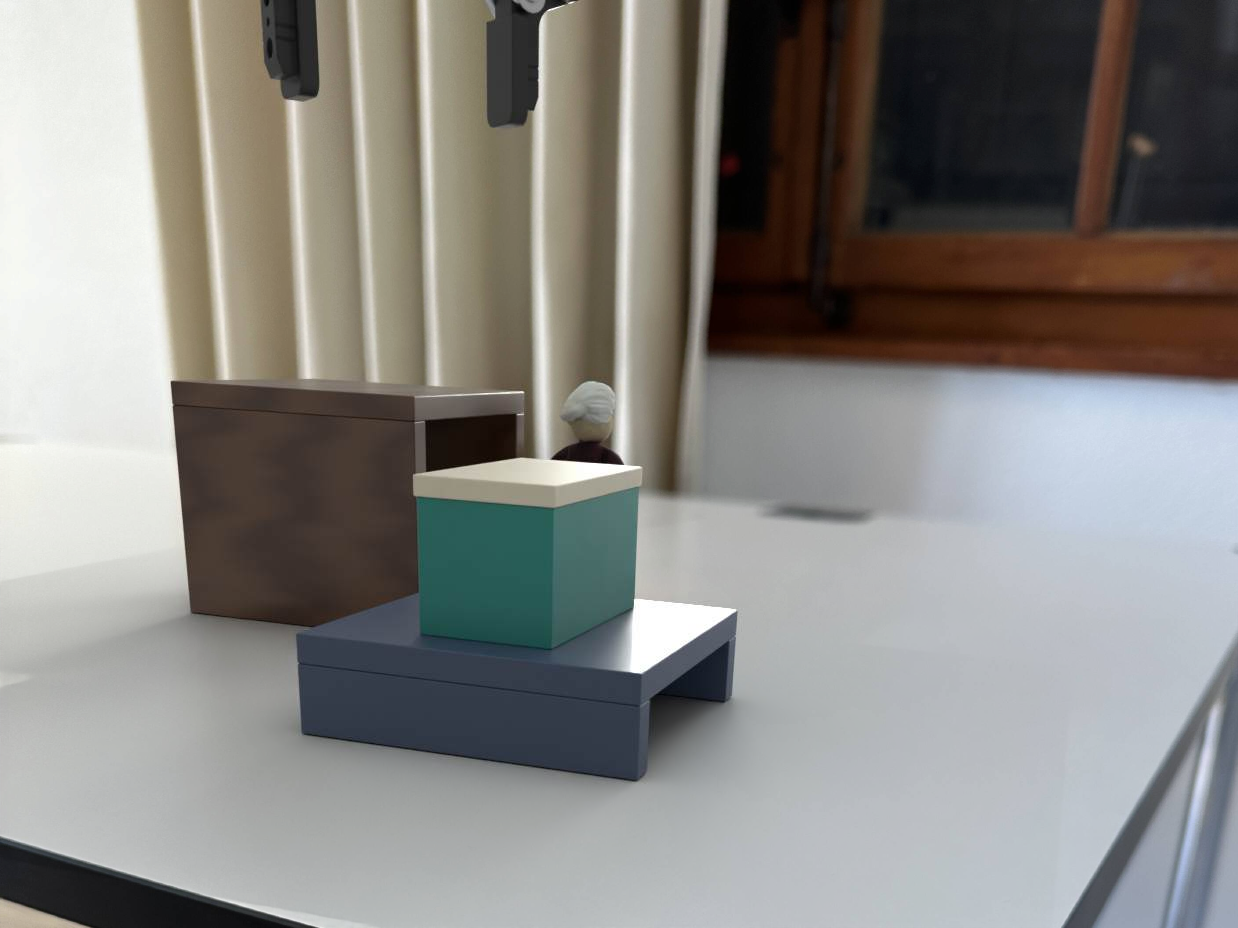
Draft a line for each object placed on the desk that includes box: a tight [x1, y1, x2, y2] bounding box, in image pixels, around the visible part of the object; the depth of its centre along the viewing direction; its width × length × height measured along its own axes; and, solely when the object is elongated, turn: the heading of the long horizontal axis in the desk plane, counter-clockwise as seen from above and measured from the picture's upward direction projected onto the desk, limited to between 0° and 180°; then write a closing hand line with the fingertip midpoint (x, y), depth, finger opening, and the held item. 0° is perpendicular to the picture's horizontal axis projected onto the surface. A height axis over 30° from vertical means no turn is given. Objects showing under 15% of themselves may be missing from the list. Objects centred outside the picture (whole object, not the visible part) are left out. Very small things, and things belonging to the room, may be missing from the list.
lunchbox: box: [413, 457, 643, 650], centre depth 54 cm, size 6×10×6 cm, turn 163°
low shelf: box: [295, 593, 739, 781], centre depth 55 cm, size 14×14×4 cm
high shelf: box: [170, 378, 525, 628], centre depth 75 cm, size 14×14×12 cm
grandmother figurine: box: [549, 380, 625, 465], centre depth 81 cm, size 8×4×13 cm, turn 65°
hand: (407, 113), depth 50 cm, fingers open, 8 cm apart
